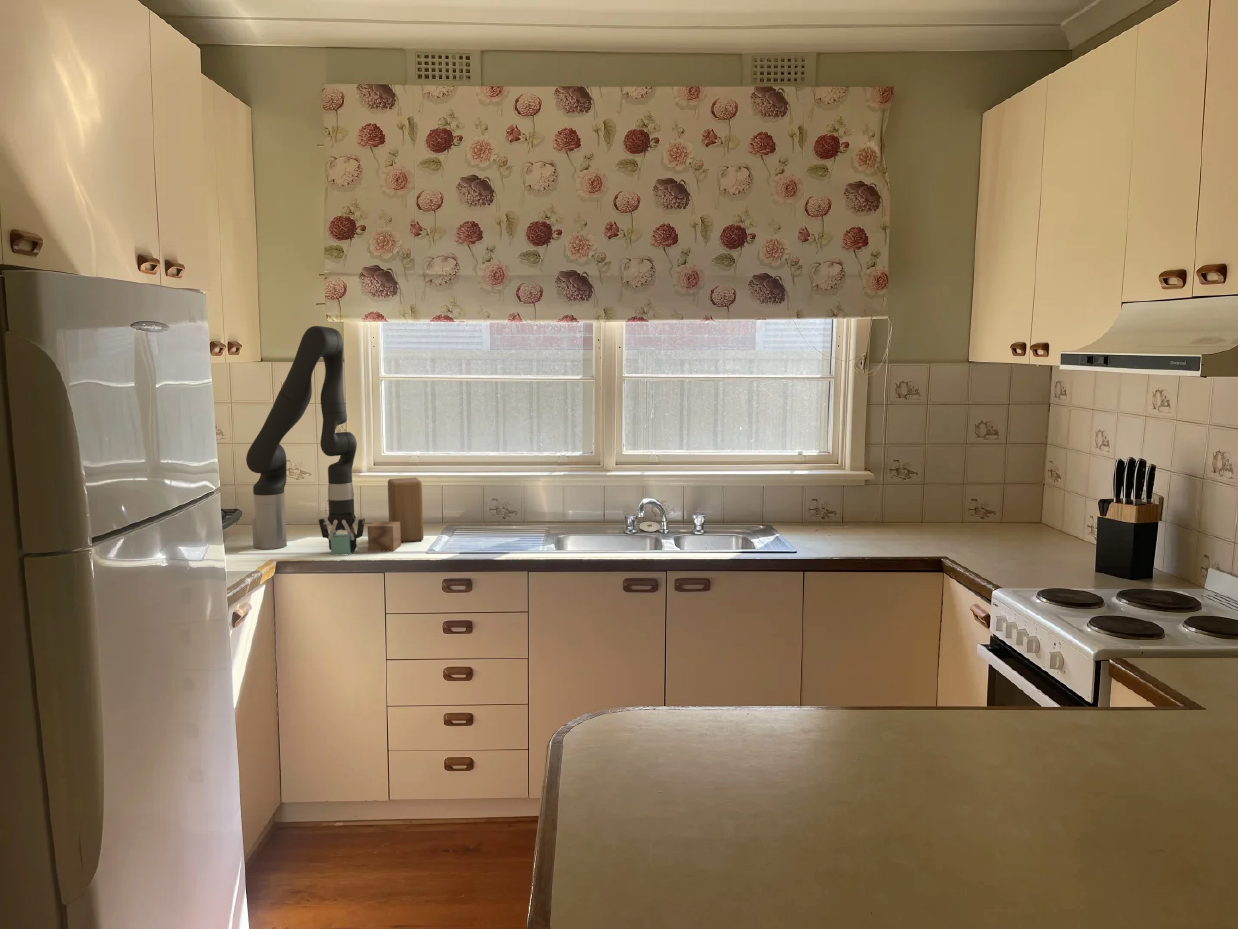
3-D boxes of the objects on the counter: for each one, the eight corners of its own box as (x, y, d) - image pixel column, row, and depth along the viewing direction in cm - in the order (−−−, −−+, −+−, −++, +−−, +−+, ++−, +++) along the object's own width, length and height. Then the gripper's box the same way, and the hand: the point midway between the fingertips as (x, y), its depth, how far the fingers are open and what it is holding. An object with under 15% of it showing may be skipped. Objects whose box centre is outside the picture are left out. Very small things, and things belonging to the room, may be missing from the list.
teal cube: (331, 554, 283) (330, 537, 282) (337, 551, 288) (336, 533, 287) (348, 555, 282) (348, 537, 282) (354, 551, 288) (354, 533, 287)
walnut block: (368, 551, 288) (367, 526, 287) (376, 546, 296) (375, 521, 295) (393, 551, 288) (392, 526, 287) (400, 546, 295) (400, 521, 294)
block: (389, 537, 308) (387, 478, 306) (419, 535, 312) (417, 477, 309) (393, 543, 299) (391, 482, 297) (424, 541, 303) (422, 480, 300)
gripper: (313, 499, 280) (315, 553, 282) (360, 499, 279) (362, 554, 281) (322, 495, 287) (324, 548, 289) (367, 495, 287) (369, 548, 289)
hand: (343, 551), depth 285 cm, fingers closed on teal cube, 5 cm apart
